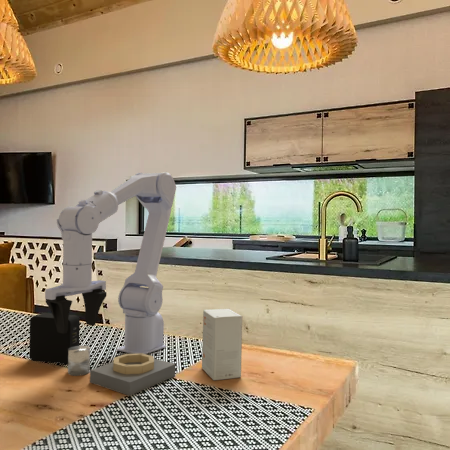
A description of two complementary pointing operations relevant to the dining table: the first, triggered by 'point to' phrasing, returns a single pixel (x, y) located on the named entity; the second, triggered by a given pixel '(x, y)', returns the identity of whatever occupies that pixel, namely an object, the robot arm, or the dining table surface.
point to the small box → (222, 343)
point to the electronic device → (52, 338)
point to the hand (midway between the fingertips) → (76, 328)
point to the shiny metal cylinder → (78, 360)
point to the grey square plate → (132, 373)
